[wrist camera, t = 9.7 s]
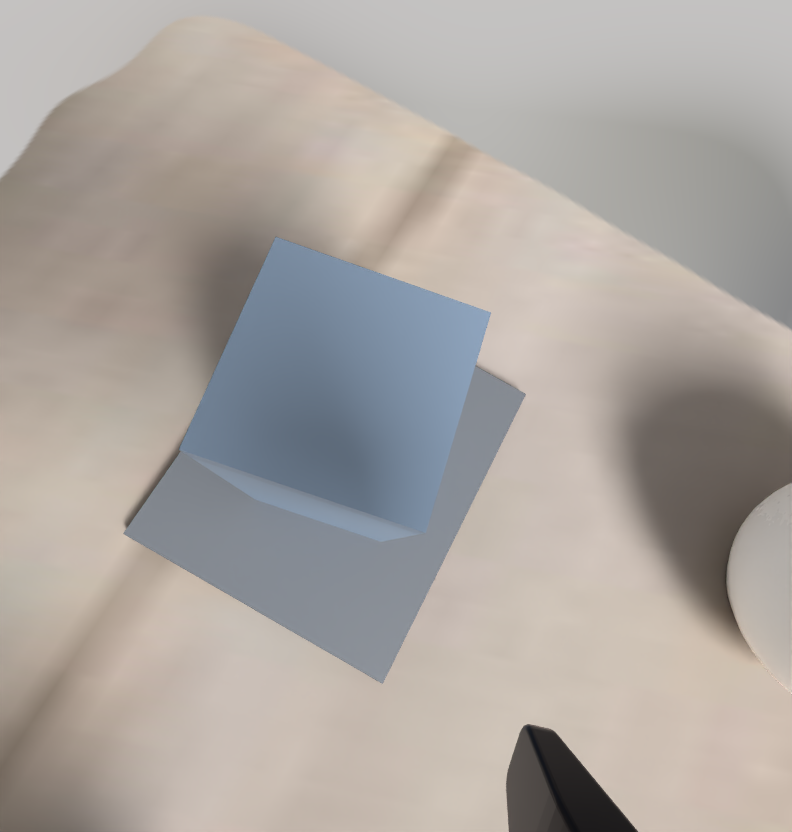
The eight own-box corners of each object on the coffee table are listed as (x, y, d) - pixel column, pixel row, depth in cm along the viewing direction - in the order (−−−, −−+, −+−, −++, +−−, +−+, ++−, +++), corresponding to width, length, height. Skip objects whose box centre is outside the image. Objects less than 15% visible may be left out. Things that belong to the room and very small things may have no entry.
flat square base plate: (381, 680, 21) (394, 714, 16) (128, 533, 21) (74, 529, 17) (522, 397, 25) (562, 364, 20) (306, 277, 25) (301, 219, 21)
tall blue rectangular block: (380, 541, 22) (425, 533, 11) (254, 499, 21) (178, 449, 11) (431, 382, 24) (510, 246, 13) (317, 342, 24) (304, 173, 13)
